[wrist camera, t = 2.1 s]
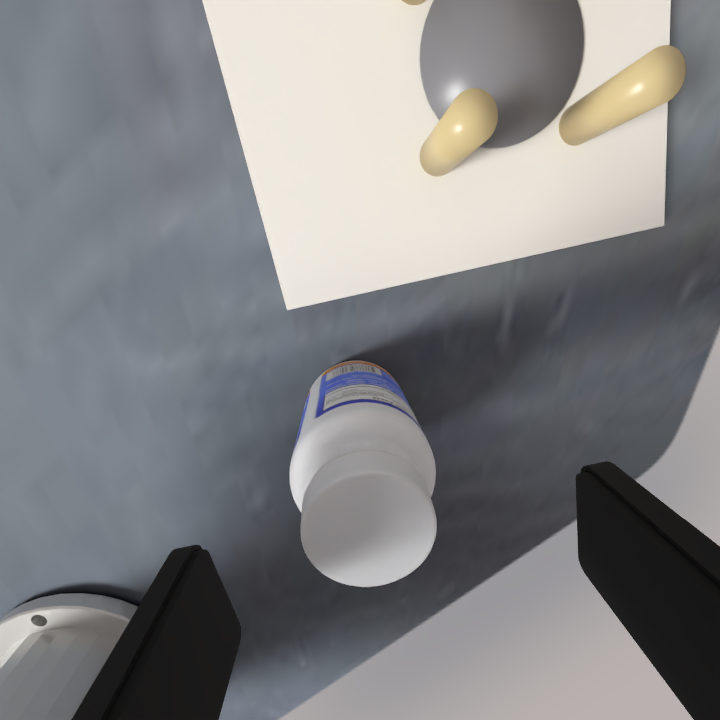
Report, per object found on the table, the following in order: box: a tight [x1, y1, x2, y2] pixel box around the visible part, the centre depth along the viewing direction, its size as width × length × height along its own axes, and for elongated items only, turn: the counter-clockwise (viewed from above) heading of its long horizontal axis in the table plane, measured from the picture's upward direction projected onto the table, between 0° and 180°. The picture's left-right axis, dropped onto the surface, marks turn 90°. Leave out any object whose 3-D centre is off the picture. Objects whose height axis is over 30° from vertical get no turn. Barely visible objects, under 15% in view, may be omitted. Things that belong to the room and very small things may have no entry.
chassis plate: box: [202, 0, 686, 310], centre depth 13 cm, size 16×18×6 cm
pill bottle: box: [289, 361, 437, 587], centre depth 15 cm, size 5×5×10 cm
